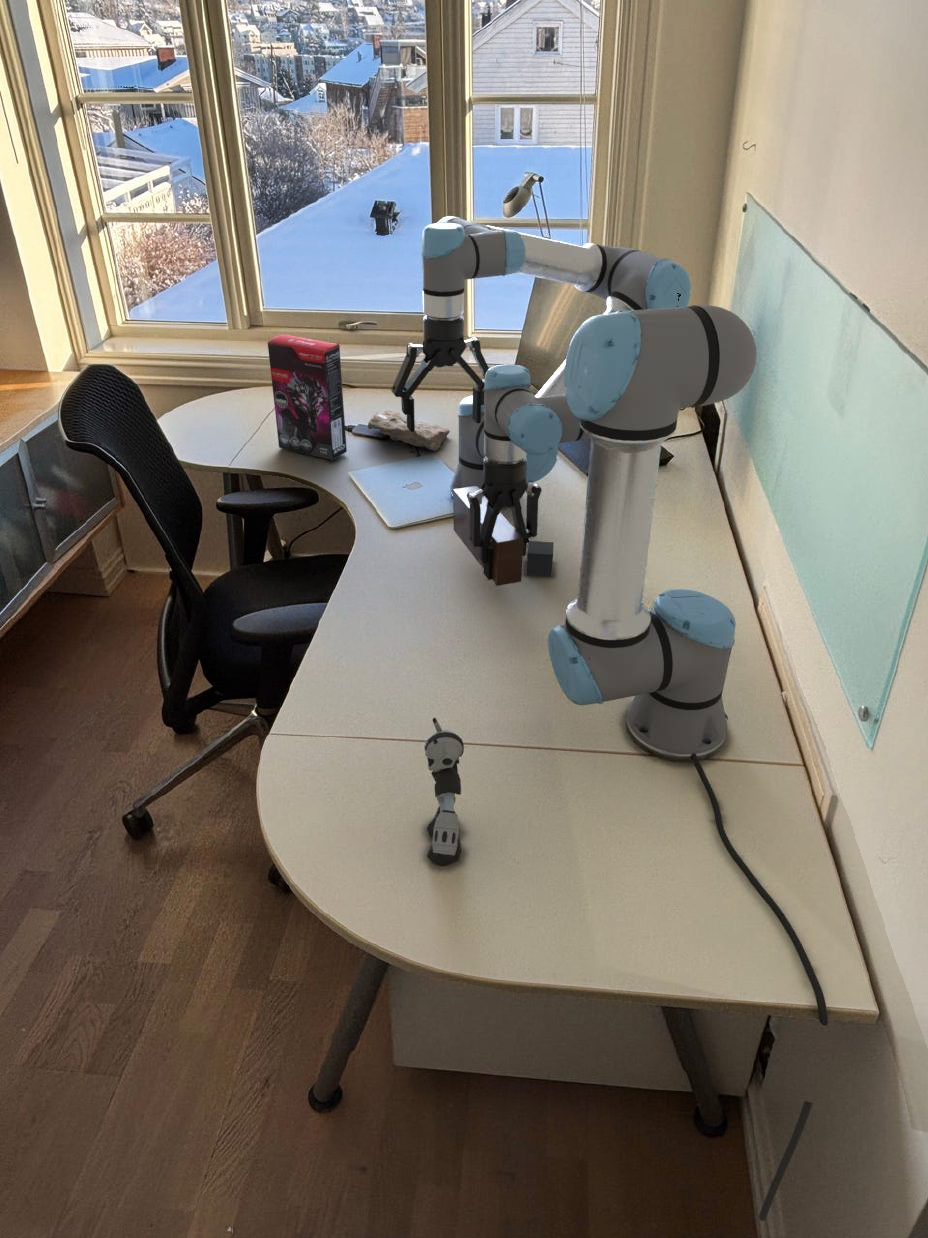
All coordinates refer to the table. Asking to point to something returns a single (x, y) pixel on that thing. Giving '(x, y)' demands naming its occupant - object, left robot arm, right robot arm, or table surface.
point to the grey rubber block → (539, 558)
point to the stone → (398, 429)
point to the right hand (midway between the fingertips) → (502, 573)
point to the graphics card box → (308, 395)
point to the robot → (444, 794)
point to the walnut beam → (502, 540)
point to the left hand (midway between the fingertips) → (444, 425)
